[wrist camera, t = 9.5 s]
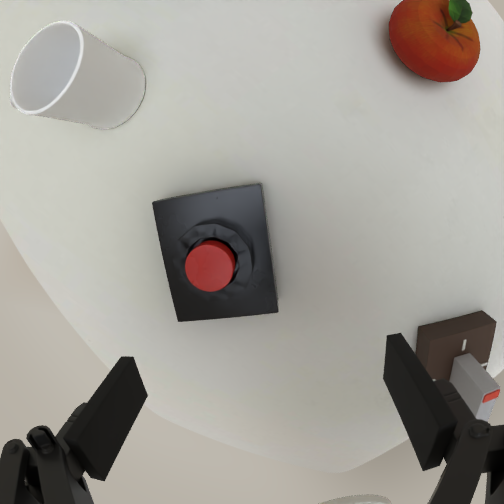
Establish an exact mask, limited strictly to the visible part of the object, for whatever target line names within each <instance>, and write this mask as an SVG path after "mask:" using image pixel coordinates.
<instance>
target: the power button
mask: <svg viewBox="0 0 504 504" xmlns="http://www.w3.org/2000/svg"><path fill="white" fill-rule="evenodd" d="M234 270H235V258H234V255H233V253H232V251H231V250H230V249H229V248H228V247H227V246H226V245H225V244H223V243H221V242H218V241H214V240H209V241H204V242H202V243H200V244H198V245H197V246H196V247H195V248H194V249H193V250H192V251H191V252H190V253H189V255H188V256H187V259H186V262H185V271H186V275H187V277H188V279H189V280H190V282H191V283H192V284H193V285H194V286H195V287H197V288H198V289H201V290H203V291H209V292H213V291H218V290H220V289H222V288H224V287H225V286H226V285H227V284H228V283H229V282H230V280H231V278H232V276H233V273H234Z"/></svg>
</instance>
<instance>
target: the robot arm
mask: <svg viewBox="0 0 504 504" xmlns="http://www.w3.org/2000/svg"><path fill="white" fill-rule="evenodd" d="M383 379H384V382H385V384H386V386H387V388H388V390H389V392H390V395H391V397H392V399H393V401H394V404H395V406H396V408H397V410H398V413H399V415H400V417H401V419H402V422H403V424H404V426H405V429H406V431H407V433H408V436H409V438H410V440H411V443H412V445H413V448H414V450H415V452H416V455H417V458H418V460H419V462H420V465H421V468H422V470H423V471H425V470H428V469H431V468H434V467H437V466H440V464H441V462H442V460H443V457H444V459H445V461H446V463H447V465H446V467H445V469H444V471H443V473H442V475H441V478H440V480H439V482H438V484H437V486H436V488H435V491H434V493H433V494H432V496H431V499H430V500H429V502H428V504H470V503H471V500H472V498H473V495H474V492H475V490H476V487H477V484H478V481H479V478H480V475H481V473H487V485H486V499H485V504H504V425H498V426H491V425H490V424H489V423H488V422H487V421H484V420H481V419H476V417H475V416H474V414H473V413H472V411H471V410H470V408H469V407H468V405H467V404H466V402H465V401H464V400H463V398H461V395H460V394H459V392H457V389H456V388H455V387H454V385H453V384H452V383H451V382H449V381H448V380H446V379H445V378H442V379H439V380H435V381H433V380H432V378H431V377H430V375H429V374H428V372H427V371H426V369H425V368H424V366H423V365H422V363H421V362H420V360H419V359H418V357H417V356H416V354H415V353H414V351H413V350H412V348H411V347H410V346H409V344H408V343H407V341H406V340H405V338H404V337H403V336H402V334H401V333H398V334H392V335H387V341H386V354H385V365H384V375H383ZM147 396H148V395H147V392H146V390H145V387H144V385H143V382H142V379H141V377H140V374H139V371H138V368H137V366H136V363H135V360H134V357H121V358H120V359H119V360H118V362H117V363H116V364H115V366H114V367H113V368H112V370H111V371H110V372H109V374H108V375H107V377H106V378H105V379H104V381H103V382H102V383H101V385H100V386H99V387H98V389H97V390H96V392H95V393H94V394H93V396H92V397H91V399H90V400H89V401H88V403H83V404H81V405H80V406H78V407H77V408H76V409H75V411H74V412H73V413H72V414H71V416H70V417H69V418H68V420H67V422H66V423H65V424H64V425H63V427H62V428H61V430H60V431H59V432H58V434H57V435H56V436H54V435H53V433H52V431H51V430H50V428H48V427H47V426H43V425H42V426H37V427H34V428H33V429H31V430H30V431H29V433H28V434H27V440H28V442H29V443H30V444H31V446H32V447H26V446H25V445H24V443H23V442H22V441H21V440H19V439H13V440H10V441H8V442H7V443H6V444H5V446H4V447H3V450H2V454H1V458H0V504H94V502H93V500H92V497H91V495H90V492H89V489H88V486H87V483H86V480H85V478H84V477H83V476H82V475H83V473H84V471H86V472H87V473H88V475H89V476H90V477H91V478H94V479H97V480H101V481H105V479H106V477H107V475H108V473H109V471H110V469H111V467H112V465H113V463H114V461H115V459H116V457H117V455H118V453H119V451H120V449H121V447H122V445H123V443H124V441H125V439H126V437H127V435H128V433H129V431H130V429H131V427H132V425H133V423H134V421H135V420H136V418H137V416H138V414H139V412H140V410H141V408H142V406H143V404H144V402H145V400H146V398H147Z"/></svg>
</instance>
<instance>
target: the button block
mask: <svg viewBox="0 0 504 504" xmlns="http://www.w3.org/2000/svg"><path fill="white" fill-rule="evenodd" d="M152 204H153V210H154V215H155V221H156V226H157V231H158V236H159V241H160V246H161V251H162V255H163V260H164V265H165V269H166V274H167V278H168V282H169V287H170V291H171V295H172V299H173V303H174V307H175V311H176V315H177V319H178V322H183V321H196V320H208V319H220V318H231V317H241V316H251V315H260V314H269V313H277V312H278V295H277V287H276V280H275V272H274V265H273V257H272V250H271V243H270V236H269V228H268V221H267V214H266V207H265V200H264V193H263V187H262V183H256V184H249V185H242V186H236V187H229V188H223V189H217V190H211V191H205V192H199V193H193V194H187V195H182V196H176V197H171V198H166V199H161V200H158V201H154V202H152ZM209 240H214V241H218V242H221V243H223V244H225V245H226V246H227V247H228V248H229V249H230V250H231V251H232V253H233V255H234V258H235V270H234V273H233V276H232V278H231V280H230V282H229V283H228V284H227V285H226V286H225V287H224V288H222V289H220V290H218V291H213V292H209V291H203V290H201V289H198V288H197V287H195V286H194V285H193V284H192V283H191V282H190V280H189V279H188V277H187V275H186V271H185V262H186V259H187V256H188V255H189V253H190V252H191V251H192V250H193V249H194V248H195V247H196V246H197V245H198V244H200V243H202V242H204V241H209Z"/></svg>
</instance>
